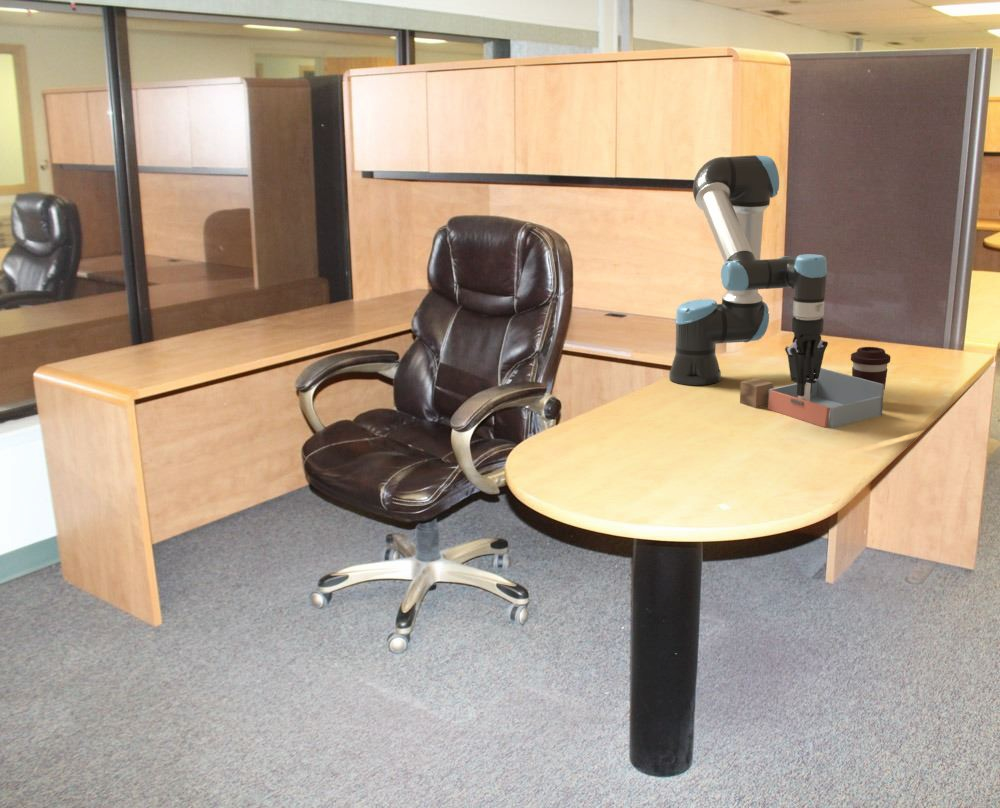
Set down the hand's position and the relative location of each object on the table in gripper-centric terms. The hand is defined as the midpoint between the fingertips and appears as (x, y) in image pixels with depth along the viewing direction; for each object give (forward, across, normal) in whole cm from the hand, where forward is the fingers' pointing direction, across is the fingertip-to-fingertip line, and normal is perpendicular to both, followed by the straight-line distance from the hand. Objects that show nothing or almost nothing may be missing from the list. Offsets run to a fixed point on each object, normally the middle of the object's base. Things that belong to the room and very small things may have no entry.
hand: (803, 407), depth 261 cm
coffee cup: (+4, +25, 0) cm, 25 cm away
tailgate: (+2, -2, 0) cm, 3 cm away
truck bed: (+3, +8, 0) cm, 8 cm away
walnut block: (+4, -1, +16) cm, 16 cm away
